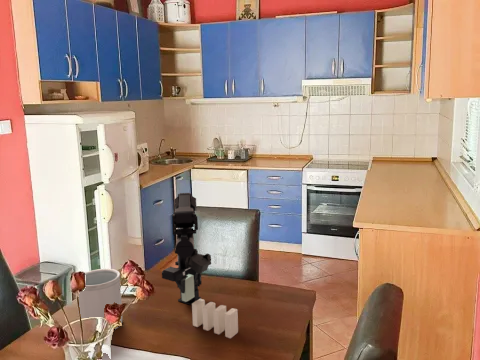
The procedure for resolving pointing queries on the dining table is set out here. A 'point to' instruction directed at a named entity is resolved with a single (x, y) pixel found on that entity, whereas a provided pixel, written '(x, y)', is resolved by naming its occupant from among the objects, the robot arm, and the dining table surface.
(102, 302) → the utensil holder
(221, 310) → the cream domino
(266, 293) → the dining table surface
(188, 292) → the sage domino
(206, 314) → the cream domino
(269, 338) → the dining table surface
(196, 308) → the cream domino
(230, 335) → the cream domino
